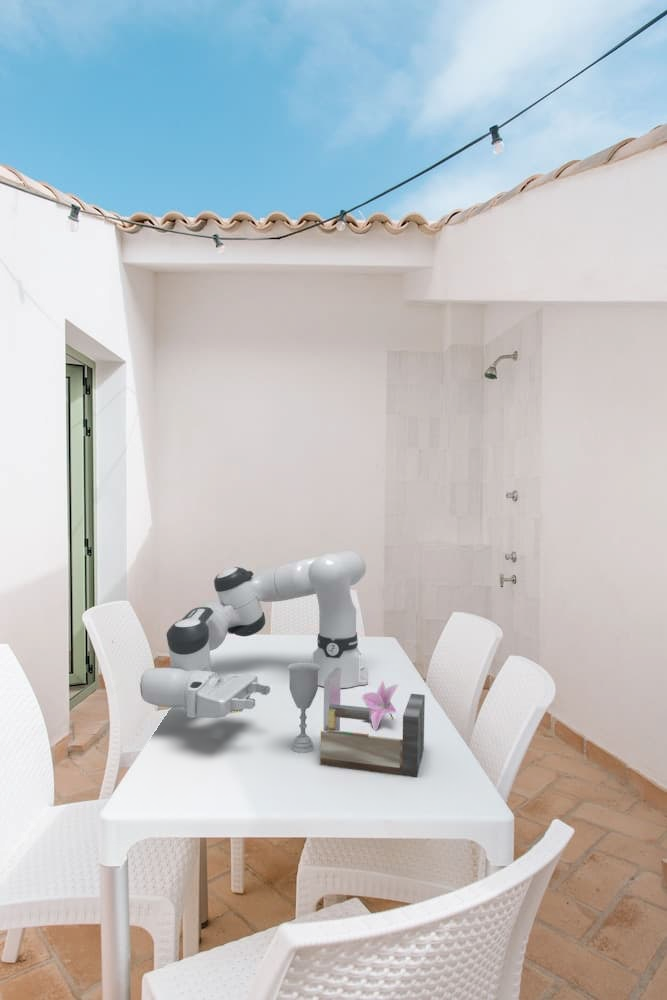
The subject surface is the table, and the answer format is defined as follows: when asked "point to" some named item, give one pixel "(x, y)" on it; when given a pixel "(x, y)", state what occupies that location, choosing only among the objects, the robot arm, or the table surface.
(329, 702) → the grey metal angled plate
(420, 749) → the wooden book stand
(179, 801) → the table surface
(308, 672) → the chalice
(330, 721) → the drag pointer
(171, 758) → the table surface
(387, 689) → the lily
